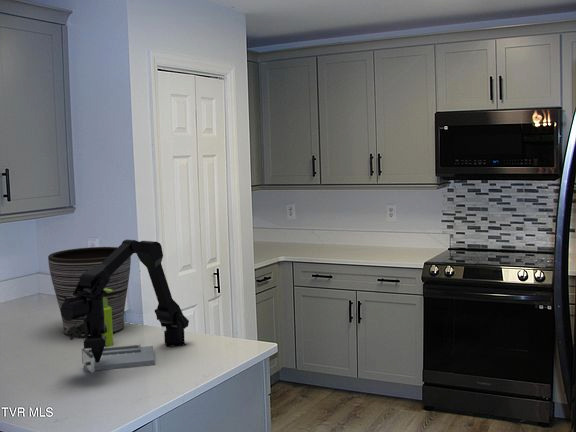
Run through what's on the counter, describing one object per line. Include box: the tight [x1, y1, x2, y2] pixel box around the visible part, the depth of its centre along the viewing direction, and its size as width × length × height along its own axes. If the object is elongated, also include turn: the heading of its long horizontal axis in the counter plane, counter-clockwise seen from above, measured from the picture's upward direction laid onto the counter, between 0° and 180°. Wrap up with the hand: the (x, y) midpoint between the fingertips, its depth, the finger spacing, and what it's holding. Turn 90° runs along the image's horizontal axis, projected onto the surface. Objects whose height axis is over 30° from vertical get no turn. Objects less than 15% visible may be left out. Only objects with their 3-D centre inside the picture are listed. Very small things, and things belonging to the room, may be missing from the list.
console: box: [81, 344, 156, 372], centre depth 219 cm, size 22×16×6 cm
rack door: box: [81, 349, 96, 373], centre depth 207 cm, size 10×2×4 cm, turn 31°
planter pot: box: [47, 246, 132, 339], centre depth 256 cm, size 30×30×30 cm
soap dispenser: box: [102, 288, 114, 347], centre depth 237 cm, size 6×7×20 cm
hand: (97, 362), depth 207 cm, fingers closed
